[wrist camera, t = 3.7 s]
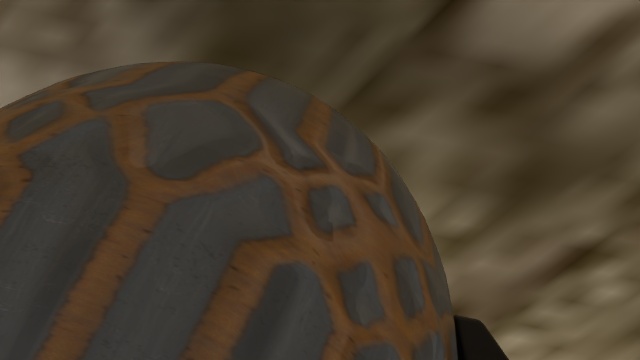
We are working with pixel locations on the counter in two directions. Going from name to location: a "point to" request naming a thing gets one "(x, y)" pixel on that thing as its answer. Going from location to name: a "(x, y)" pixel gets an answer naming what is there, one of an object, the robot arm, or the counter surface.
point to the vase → (207, 226)
